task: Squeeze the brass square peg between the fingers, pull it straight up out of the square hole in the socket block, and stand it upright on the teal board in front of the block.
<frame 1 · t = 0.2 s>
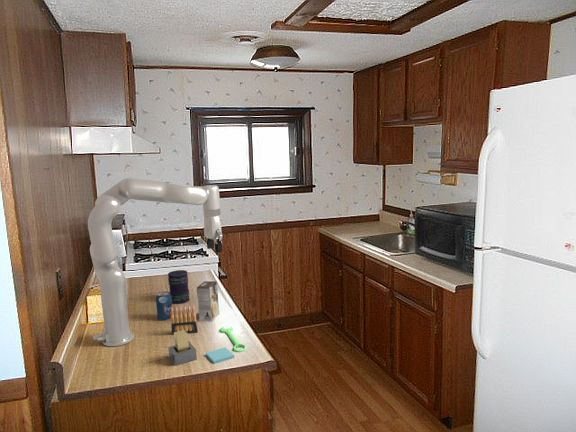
hand: (214, 250, 203), 31 cm above the counter, tool pointing down, fingers open, 9 cm apart
soda can: (165, 318, 208), on the counter
coffee box: (209, 318, 206), on the counter
wrench: (232, 340, 182), on the counter
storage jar: (180, 301, 230), on the counter
socket block: (182, 358, 167), on the counter
teal board: (220, 356, 167), on the counter
ammunition clip: (184, 333, 190), on the counter
brass peg: (181, 345, 166), in the socket block
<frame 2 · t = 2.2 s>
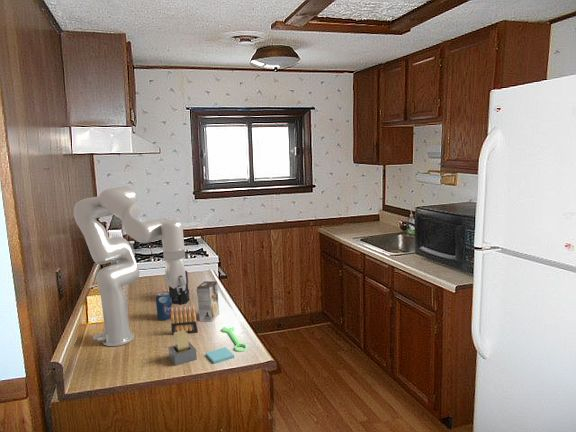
hand: (178, 300, 164), 22 cm above the counter, tool pointing down, fingers open, 9 cm apart
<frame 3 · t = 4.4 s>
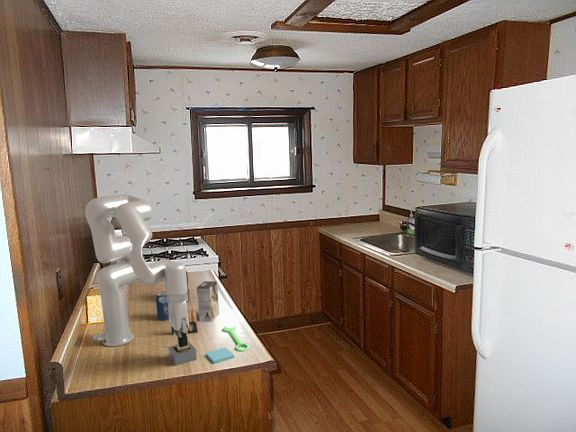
hand: (181, 343, 166), 6 cm above the counter, tool pointing down, fingers closed on brass peg, 4 cm apart
brass peg: (181, 345, 166), in the socket block, touching gripper
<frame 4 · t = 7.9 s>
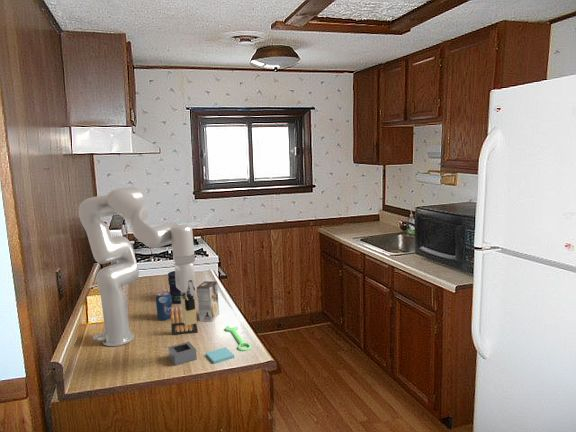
hand: (188, 307, 164), 20 cm above the counter, tool pointing down, fingers closed on brass peg, 4 cm apart
brass peg: (188, 309, 164), point 19 cm above the counter, touching gripper
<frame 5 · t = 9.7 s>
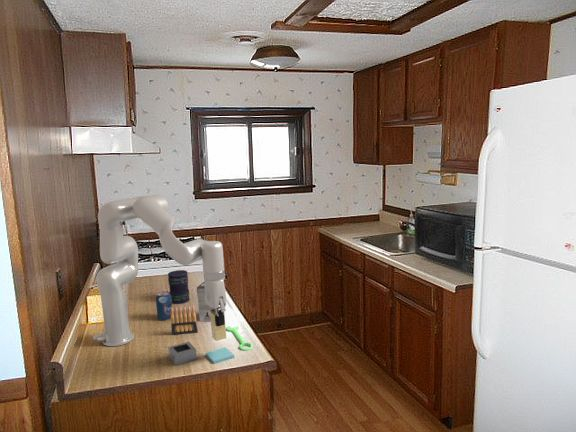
hand: (218, 322, 165), 13 cm above the counter, tool pointing down, fingers closed on brass peg, 4 cm apart
brass peg: (218, 324, 165), point 12 cm above the counter, touching gripper
when the fingers open (8 cm above the counter, at t = 11.3 s): brass peg drops 1 cm, resting on teal board.
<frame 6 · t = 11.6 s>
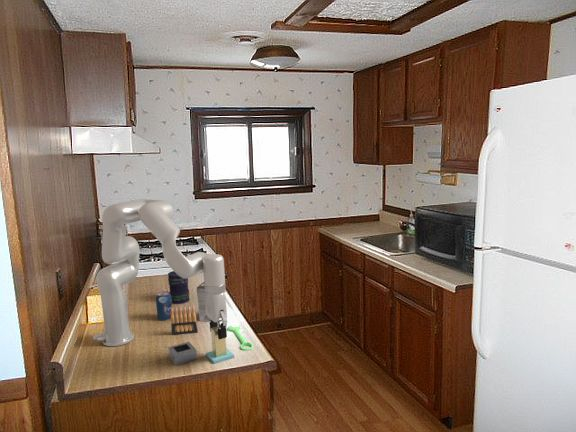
hand: (218, 334, 166), 9 cm above the counter, tool pointing down, fingers open, 7 cm apart
brass peg: (218, 341, 166), on the teal board, point 6 cm above the counter
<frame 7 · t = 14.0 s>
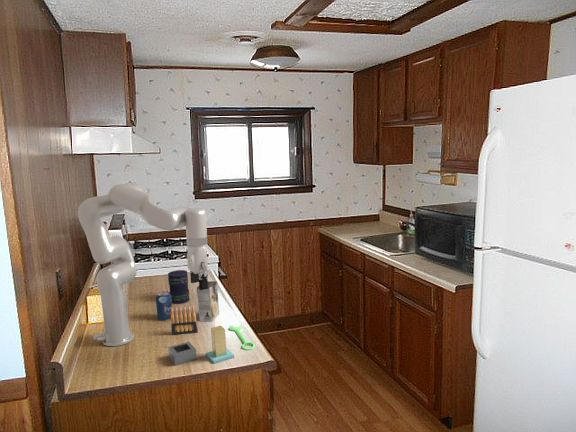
hand: (199, 285, 170), 26 cm above the counter, tool pointing down, fingers open, 9 cm apart
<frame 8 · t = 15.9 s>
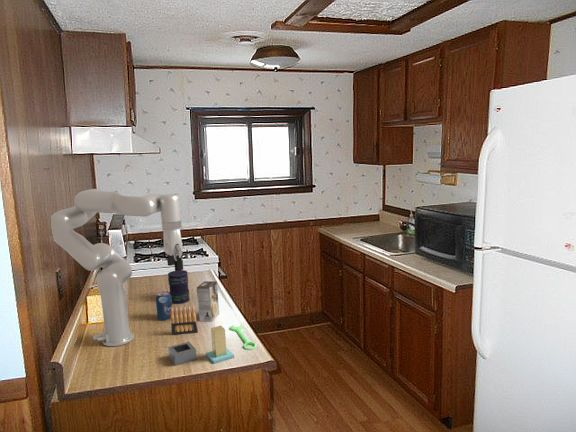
hand: (175, 267, 179), 30 cm above the counter, tool pointing down, fingers open, 9 cm apart
at the end: brass peg 0.1 cm off-centre on the teal board, point 6.0 cm above the teal board's base; brass peg tilted 0°; the gripper is holding nothing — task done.
